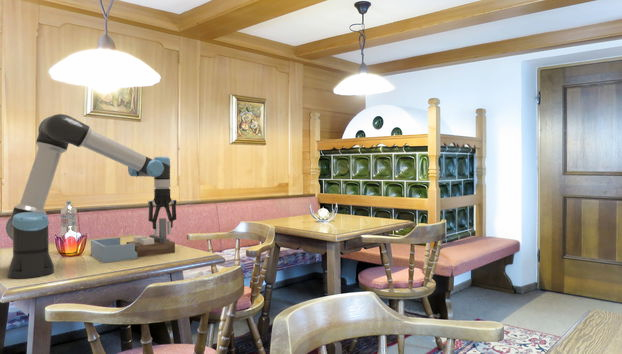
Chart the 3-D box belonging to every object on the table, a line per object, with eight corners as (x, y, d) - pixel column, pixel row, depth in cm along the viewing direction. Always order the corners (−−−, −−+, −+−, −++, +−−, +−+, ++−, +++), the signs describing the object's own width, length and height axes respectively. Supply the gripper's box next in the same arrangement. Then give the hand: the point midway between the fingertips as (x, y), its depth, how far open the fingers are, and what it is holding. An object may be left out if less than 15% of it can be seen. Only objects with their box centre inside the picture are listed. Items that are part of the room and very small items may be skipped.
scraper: (172, 242, 215) (172, 219, 215) (160, 243, 211) (159, 220, 211) (161, 238, 227) (161, 217, 226) (149, 239, 223) (149, 217, 223)
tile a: (154, 243, 210) (154, 238, 210) (143, 245, 207) (143, 239, 207) (150, 242, 214) (150, 237, 214) (139, 243, 211) (139, 238, 211)
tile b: (147, 241, 216) (147, 236, 216) (136, 243, 213) (136, 237, 213) (144, 240, 220) (144, 235, 220) (133, 241, 217) (133, 236, 217)
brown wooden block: (175, 252, 215) (174, 242, 215) (136, 257, 204) (136, 246, 204) (163, 248, 228) (163, 238, 228) (126, 252, 216) (126, 242, 216)
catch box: (137, 258, 200) (137, 243, 200) (103, 263, 192) (103, 246, 191) (121, 251, 219) (121, 237, 219) (90, 254, 210) (90, 240, 210)
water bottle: (59, 253, 215) (58, 201, 215) (74, 251, 220) (73, 200, 220) (64, 254, 211) (63, 202, 210) (79, 252, 216) (78, 201, 215)
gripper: (177, 187, 228) (178, 232, 228) (140, 188, 216) (141, 236, 217) (183, 187, 222) (184, 234, 222) (145, 189, 210) (146, 237, 211)
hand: (162, 235), depth 219 cm, fingers open, 6 cm apart
